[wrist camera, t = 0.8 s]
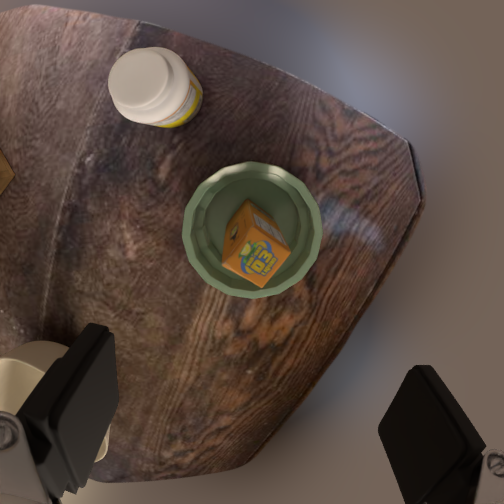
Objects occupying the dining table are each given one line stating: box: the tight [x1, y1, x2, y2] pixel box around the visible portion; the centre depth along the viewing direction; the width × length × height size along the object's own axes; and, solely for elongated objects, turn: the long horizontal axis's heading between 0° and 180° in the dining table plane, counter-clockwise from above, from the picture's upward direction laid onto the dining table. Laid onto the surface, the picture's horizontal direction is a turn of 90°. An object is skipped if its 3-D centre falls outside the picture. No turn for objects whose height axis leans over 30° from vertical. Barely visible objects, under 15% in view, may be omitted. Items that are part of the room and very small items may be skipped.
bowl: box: [0, 341, 110, 462], centre depth 30 cm, size 16×16×10 cm
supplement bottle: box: [108, 47, 203, 128], centre depth 21 cm, size 6×6×10 cm
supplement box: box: [222, 199, 291, 288], centre depth 25 cm, size 3×4×10 cm
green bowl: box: [182, 160, 323, 299], centre depth 27 cm, size 11×11×4 cm
